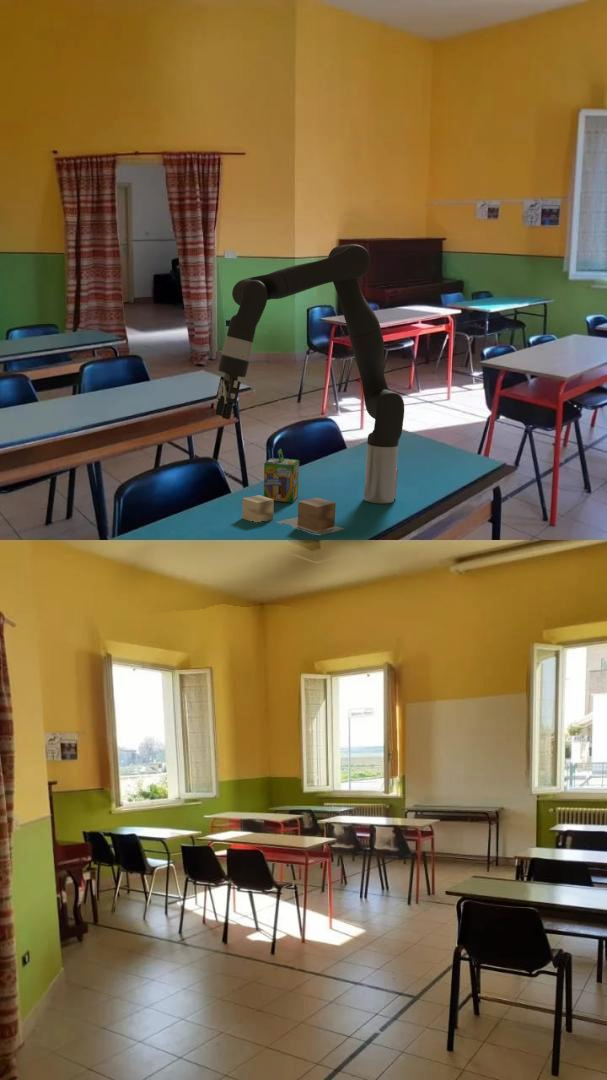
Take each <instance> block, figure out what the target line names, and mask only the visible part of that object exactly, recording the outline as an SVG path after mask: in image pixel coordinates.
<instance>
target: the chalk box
mask: <svg viewBox="0 0 607 1080" xmlns="http://www.w3.org/2000/svg"><path fill="white" fill-rule="evenodd" d="M277 457H278V458H276V457H271V458H269V459H268V460H266V461H265V462H264V465H263V474H264V475H263V479H264V480H263V481H264V482H263V483H264V484H263V496H264V497H267V498H270V499H274V502H282V503H294V502H295V501H296V500H297V499H298V497H299V486H300V485H299V481H300V479H299V477H300V460H299V459H290V458H284V455H283V450H282V448H279V449H278V451H277Z"/></svg>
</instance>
